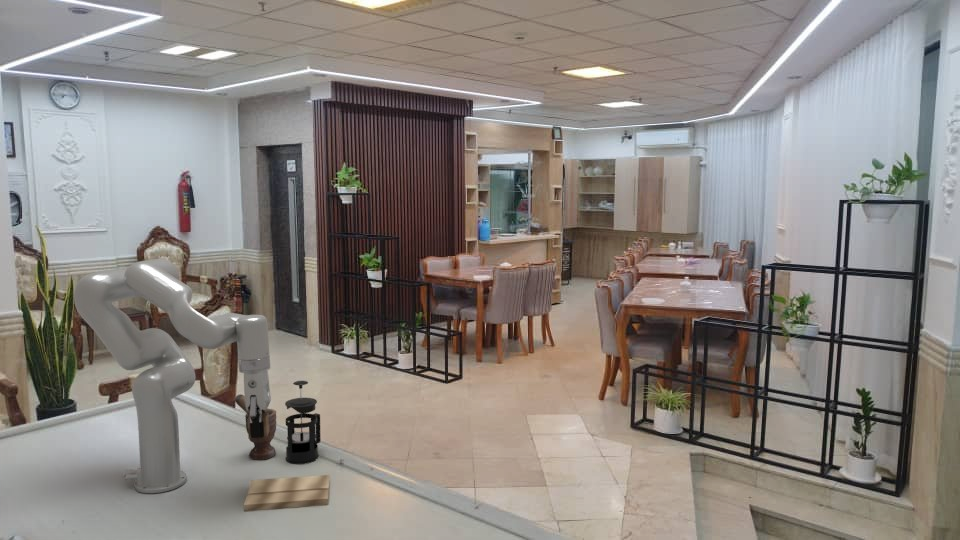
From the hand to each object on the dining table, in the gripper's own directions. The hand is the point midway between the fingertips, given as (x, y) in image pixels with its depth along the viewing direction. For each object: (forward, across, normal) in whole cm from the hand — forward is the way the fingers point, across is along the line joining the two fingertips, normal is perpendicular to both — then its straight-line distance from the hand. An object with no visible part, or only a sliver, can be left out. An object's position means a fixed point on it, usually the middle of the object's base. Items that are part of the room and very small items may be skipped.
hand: (259, 433), depth 169 cm
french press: (+16, +23, -8) cm, 30 cm away
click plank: (+16, +1, -7) cm, 18 cm away
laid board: (+17, -6, -7) cm, 19 cm away
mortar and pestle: (+16, +25, +5) cm, 30 cm away
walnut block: (0, 0, 0) cm, 0 cm away
